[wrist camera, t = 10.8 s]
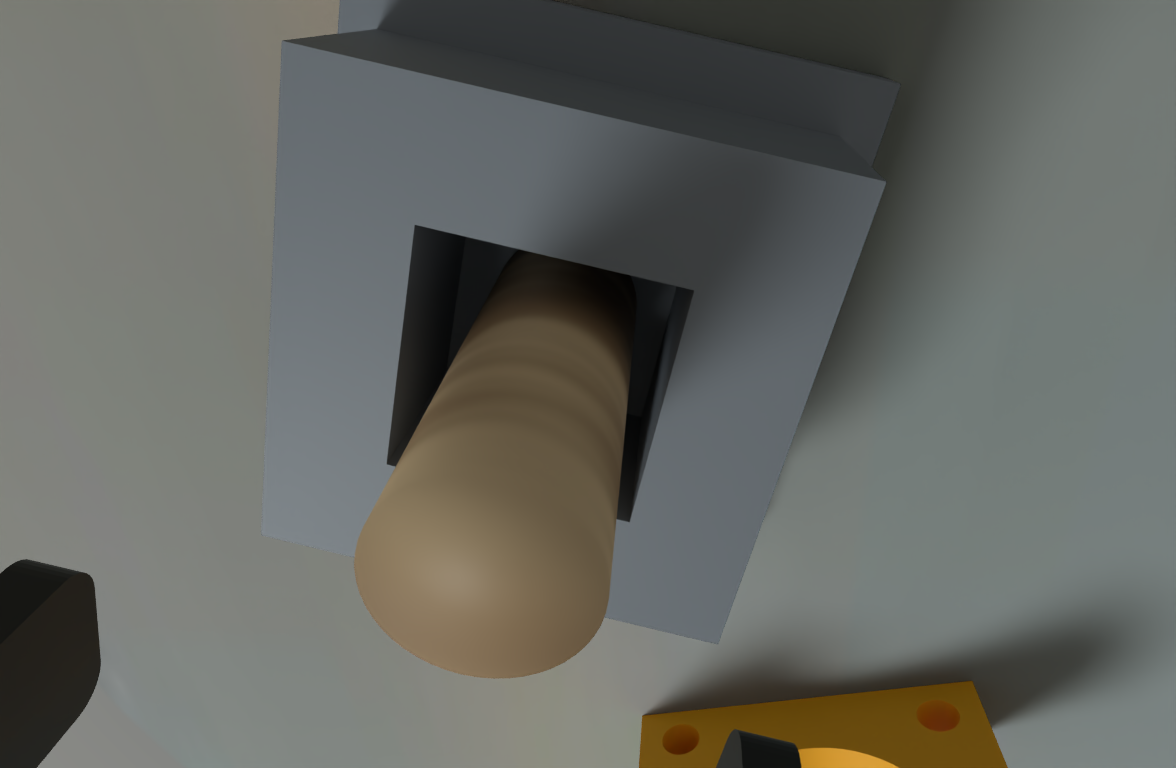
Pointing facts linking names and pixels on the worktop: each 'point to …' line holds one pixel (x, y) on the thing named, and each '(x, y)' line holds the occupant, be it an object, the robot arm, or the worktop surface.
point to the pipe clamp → (838, 730)
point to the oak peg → (511, 481)
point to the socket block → (562, 256)
